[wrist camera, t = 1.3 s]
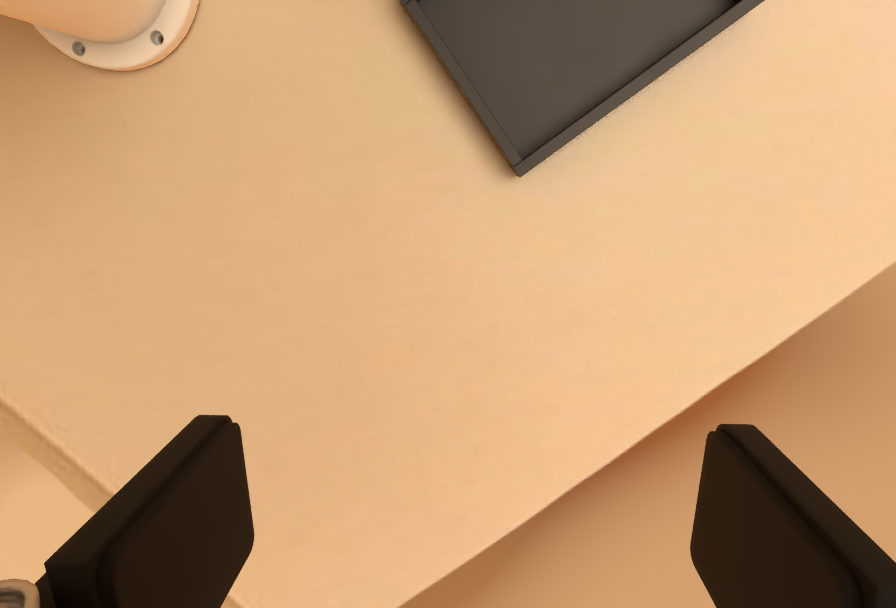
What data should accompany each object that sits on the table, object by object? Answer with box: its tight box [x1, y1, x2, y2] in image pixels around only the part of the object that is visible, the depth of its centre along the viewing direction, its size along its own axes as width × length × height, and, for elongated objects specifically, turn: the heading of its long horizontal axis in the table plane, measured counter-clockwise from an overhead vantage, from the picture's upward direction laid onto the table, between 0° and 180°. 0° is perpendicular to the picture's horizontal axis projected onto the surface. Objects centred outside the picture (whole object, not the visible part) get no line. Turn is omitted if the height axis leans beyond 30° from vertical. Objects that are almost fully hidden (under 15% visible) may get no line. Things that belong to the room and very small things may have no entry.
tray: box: [399, 0, 764, 177], centre depth 32 cm, size 14×18×2 cm
